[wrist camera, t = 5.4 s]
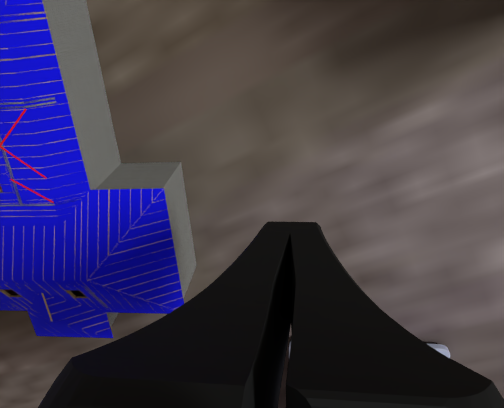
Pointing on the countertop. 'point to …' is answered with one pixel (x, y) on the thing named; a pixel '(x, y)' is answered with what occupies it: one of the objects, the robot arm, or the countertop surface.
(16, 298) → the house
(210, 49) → the countertop surface
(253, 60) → the countertop surface
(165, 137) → the countertop surface
